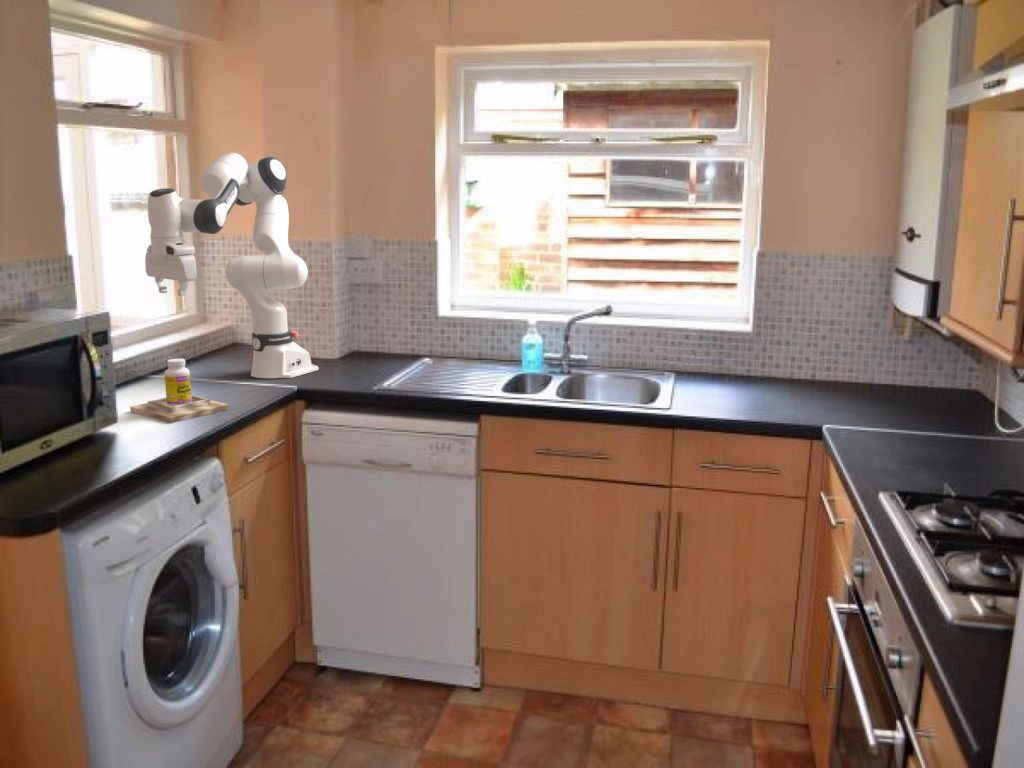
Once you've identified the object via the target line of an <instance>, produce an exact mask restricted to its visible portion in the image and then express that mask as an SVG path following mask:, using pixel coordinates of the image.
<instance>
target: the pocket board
mask: <svg viewBox="0 0 1024 768" xmlns="http://www.w3.org/2000/svg"><path fill="white" fill-rule="evenodd" d="M191 396H192V402H191V403H187V404H182V405H178V406H169V405H167V400H166V397H161V398H158V399H153V400H148V401H147V402H145V403H141V404H136V405H132V406H129V408H130V410H129V411H130V412H131V413H133V412H134V413H133V414H137V413H138V415H140V414H141V415H140V416H144V417H149V418H151V419H154V418H155V420H158V419H159V420H158V421H162V422H165V421H166V423H169V422H170V423H169V424H174V423H178V421H179V422H182V421H181V420H183V421H186V419H187V420H191V419H195V418H194V417H196V418H200V417H203V416H208V414H209V415H213V414H216V412H217V413H220V412H219V411H221V412H224V411H223V410H226V411H229V410H230V404H228V403H225V402H219V401H215V400H212V399H210V398H206V397H202V396H198V395H194V394H191ZM228 409H229V410H228ZM212 413H213V414H212ZM199 416H200V417H199ZM190 418H191V419H190Z"/></svg>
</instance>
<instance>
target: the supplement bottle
mask: <svg viewBox="0 0 1024 768" xmlns="http://www.w3.org/2000/svg"><path fill="white" fill-rule="evenodd" d="M166 361H167V363H166V364H167V367H168V368H167V369H166V370H165V371H164V385H165V386H164V387H165V398H166V400H167V405H169V406H178V405H182V404H187V403H191V402H192V396H191V395H192V386H191V385H192V384H191V373H190V369H188V368H187V367H186V359H185V358H169V359H167V360H166Z"/></svg>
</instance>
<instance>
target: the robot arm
mask: <svg viewBox="0 0 1024 768" xmlns="http://www.w3.org/2000/svg"><path fill="white" fill-rule="evenodd" d="M287 178H288V177H287V170H286V168H285V165H284V164H283V163H282V162H281V160H279V159H278V158H276V157H274V156H267V157H263V158H260V160H258V161H255V162H253V163H251V164H249V165H248V163H247V161H246V159H245V158H244V156H242V155H241V154H239V153H236V152H232V151H231V152H227V153H224V154H222V155H220V156H218V157H216V158H215V159H214V160H212V161H211V162H210V163H208V165H207V166H206V167H204V169H203V170H202V172H201V174H200V179H199V180H200V181H199V182H200V186H201V190H202V191H203V193H205V195H207V196H208V198H206V199H205V198H204V199H199V198H198V199H195V198H194V199H192V198H190V199H189V198H183V197H181V196H179V195H178V194H177V191H176V190H175V189H174V188H170V187H169V188H160V189H159V188H158V189H154V190H152V191H151V192H149V194H148V198H147V216H148V223H149V226H150V235H149V237H150V244H149V245H148V247H147V248H146V253H145V255H144V257H145V259H144V260H145V262H144V263H145V272H146V276H147V277H151V278H154V281H155V283H156V285H157V287H158V292H159V293H160V294H166V293H168V290H167V289H168V287H167V286H166V285H165V283H164V281H165V280H171V281H178V285H179V289H177V295H178V296H179V297H185V296H187V288H188V285H189V282H194V281H195V280H196V279H197V273H198V272H197V263H196V258H195V256H194V254H195V252H196V248H195V246H194V245H192V244H191V243H189V242H188V241H187V240H185V239H184V234H183V233H197V234H198V233H202V234H209V235H216V234H218V233H219V232H220V231H221V230H223V228H224V227H225V224H226V221H227V218H228V216H229V214H230V212H231V211H232V209H233V208H234V206H235V205H238V206H240V207H243V206H244V207H245V206H248V205H251V204H253V202H255V206H256V210H255V215H254V221H253V222H254V223H253V231H252V243H253V244H254V246H255V247H256V249H257V250H258V251H259V252H262V253H263V254H265V255H261V254H259V255H252V254H251V255H241V256H237V257H236V256H235V257H232V258H231V259H230V260H229V261H228V262H227V263H226V266H225V271H224V272H225V279H226V281H227V282H228V284H229V285H230V286H231V288H233V289H235V290H237V291H238V293H240V294H241V296H242V297H243V298H244V300H245V301H246V303H247V304H248V307H249V310H250V315H251V323H252V324H251V325H252V333H251V343H252V347H253V357H252V358H253V359H252V368H251V373H250V377H253V378H257V379H292V378H295V377H299V376H302V375H307V374H308V373H312V372H316V371H319V369H320V368H319V366H317V365H315V364H313V363H312V360H311V355H310V353H309V351H308V350H306V349H305V348H304V347H301V345H299V344H297V343H296V342H294V339H293V338H295V339H297V338H298V337H299V335H300V334H299V332H298V331H290V330H289V325H288V310H287V308H286V306H285V305H284V304H283V303H282V302H280V301H278V300H276V299H274V298H272V297H270V295H269V294H268V292H267V291H268V290H269V291H270V290H293V289H296V288H301V287H303V286H304V284H305V283H306V282H307V279H308V275H309V271H308V267H307V263H306V262H305V261H304V260H303V258H301V257H300V256H298V255H297V254H296V253H294V252H293V250H292V249H291V247H290V244H289V226H290V225H289V224H290V214H289V213H290V212H289V206H288V201H287V200H286V198H284V196H283V195H282V194H284V192H286V189H287V187H286V184H287Z"/></svg>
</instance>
